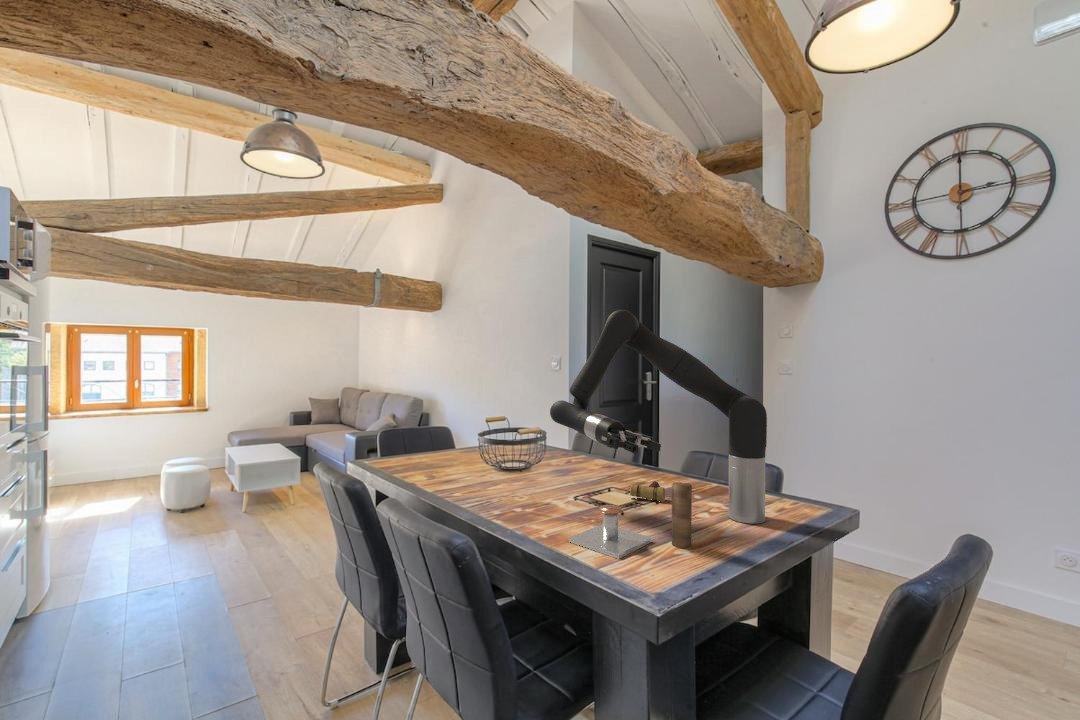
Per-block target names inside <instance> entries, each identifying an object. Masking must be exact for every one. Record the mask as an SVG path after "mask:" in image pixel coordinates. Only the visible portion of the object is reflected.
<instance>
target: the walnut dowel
mask: <svg viewBox="0 0 1080 720" xmlns="http://www.w3.org/2000/svg"><path fill="white" fill-rule="evenodd" d="M692 488H693V486H692V484H691V483H689V482H688V483H687V482H680V481H678V482H672V483H671V546H673V547H675V548H677V549H690V548H692V529H693V527H692V523H693V521H692V515H693V511H692V507H693V505H692V502H693V501H692V500H693V499H692V497H693V496H692V495H693V492H692V491H693V489H692Z"/></svg>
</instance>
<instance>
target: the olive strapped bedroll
mask: <svg viewBox="0 0 1080 720" xmlns="http://www.w3.org/2000/svg"><path fill="white" fill-rule="evenodd" d="M629 492H630V493H629V494H630V495H632V496H639V497H642V498H646V499H652V500H654V501H656V500H657V501H660V502H659V503H664V502H665V500H666V499H665V498H666V488H665V487H664V486H663V487H662V486H660V483H659V482H657V481H656V480H655V481H652V482H651V483H650V484H649V485H648V486H643V485H641V486H640V485H639V484H636V483H635V484H634V483H633V484H631V486H630V491H629ZM630 495H629V496H630ZM652 500H651V501H652ZM657 501H656V502H657Z"/></svg>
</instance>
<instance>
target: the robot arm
mask: <svg viewBox="0 0 1080 720" xmlns="http://www.w3.org/2000/svg"><path fill="white" fill-rule="evenodd" d="M623 345H625V346H626V347H628V348H630V349H632V350H634V351H635V352H637V353H639V355H641V356H642V357H643V358H645V359H646V360H647V361H648V362H650V364H651V365H652V366H653V367H654V368H655V369H657V370H658V372H660V373H661V374H662V375H664V377H666V378H668V379H669V380H670V381H672V382H673V383H675V384H676V385H677V386H679V387H680V388H682V389H684V390H686V392H689V393H691V394H693V395H695V396H696V397H699V398H701V399H703V400H704V401H706V402H709V403H710V404H711V405H713V406H714V407H715V408H716V409H718V410H719V411H720V412H721V413H723V415H725V416H726V417H727V418H728V419H729V421H728V422H729V423H728V424H729V428H728V429H729V431H728V509H727V510H728V515H727V516H728V518H729V519H731V520H733V521H735V522H738V523H739V522H740V523H744V524H763V523H765V521H766V451H767V449H766V448H767V440H768V439H767V438H768V435H767V434H768V417H767V410H766V407H765V406H764V404H763V403H762V402H761V401H760V400H758V399H757V398H755V397H752V396H751V395H748V394H747V393H745V392H743V391H741V390H740V389H737V388H736V387H734V386H733V385H731V384H729V383H728V382H726V381H725V380H723V379H722V378H721V377H720V376H718V374H716V373H715V371H714V370H712V369H711V368H710V367H708V366H707V365H706V364H705V363H703V362H702V361H701V360H700V359H698V358H697V357H695V356H694V355H693V354H691V353H689V352H688V351H687V350H685V349H683V348H682V347H680V346H678V345H677V344H675V343H673V342H671V341H669V340H666V339H664V338H662V337H661V336H659V335H657V334H656V333H654V332H652V331H651V330H650V329H649V328H648V327H646V326H645V324H643V323H642V322H641V321H640V320H639V319H638V318H637V317H636V316H635V315H634V314H633V313H632V312H631V311H629V310H626V309H617V310H614V311H613V312H612V313H611V314H610V315H608V317H607V319H606V322H605V325H604V326H603V329H602V331H601V334H600V336H599V338H598V341H597V343H596V344H595V347H594V349H593V350H592V352H591V353H590V355H589V356H588V358H587V360H586V362H585V363H584V365H583V366H582V368H581V369H580V371H579V372H578V374H577V376H576V378H575V379H574V380H573V382H572V384H571V386H570V387H569V393H570V394H571V396H573V400H572V403H570V402H568V401H566V400H557V401H555V402H554V403H552V405H551V406H550V408H549V409H550V410H549V415H550V418H551V419H552V421H554V422H555V423H557V424H559V425H562V426H564V427H566V428H568V429H569V428H570V429H572V430H574V431H576V432H578V433H579V434H581V435H583V436H585V437H587V438H590V439H591V440H592V441H594V442H597V443H599V444H600V445H603V446H605V447H607V448H610V449H614V450H618V449H620V450H624V451H628V452H630V453H632V454H638V452H639V448H640V447H642V448H646V449H648V450H651V451H653V452H656V453H660V452H661V447H662V444H661V443H660V442H657V441H656V440H655V441H654V437H653V436H649V435H647V434H645V433H641V432H639V431H634V432H632V430H626V429H625V428H626V427H625V425H624V424H623V423H622V422H621V421H619V420H616V419H613V418H611V417H609V416H606V415H604V414H599V413H596V412H594V411H591V410H588V407H589V404H590V400H591V399H592V397H593V396H594V393H595V392H596V391H597V389H598V387H599V386H600V384H601V383H602V381H603V379H604V377H605V375H606V373H607V371H608V367H609V366H610V364H611V362H612V360H613V359H614V357H615V355H616V353H617V352H618V351H619V350H620V348H621V347H622V346H623Z"/></svg>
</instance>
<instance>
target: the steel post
mask: <svg viewBox="0 0 1080 720" xmlns="http://www.w3.org/2000/svg"><path fill="white" fill-rule="evenodd" d="M599 511H600V512H601V513H602V524H600V525H597V526H594V527H592V528H590V529H586V530H585V531H582V532H580V533H577V534H575V535H573V536H570V537H569V538H568V543H570V542H571V543H570V544H573V543H574V544H573V545H576V544H577V546H579V545H580V546H579V547H582V546H583V547H582V548H585V547H586V548H585V549H588V548H589V549H588V550H591V549H592V550H591V551H594V550H595V552H596V553H600V554H603V555H606V556H608V557H612V558H615V559H618V560H619V559H622V558H623V557H625V556H627V555H629V554H631V553H632V552H636V551H637V550H638V549H640V548H643V547H645V546H646V545H648V544H650V543H652V542H653V537H652V536H649V535H645V534H642V533H639V532H638V533H637V532H635V531H631V530H628V529H624V528H620V527H619V514H621V513H623V507H621V506H620V505H615V504H603V505H600V506H599Z"/></svg>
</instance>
